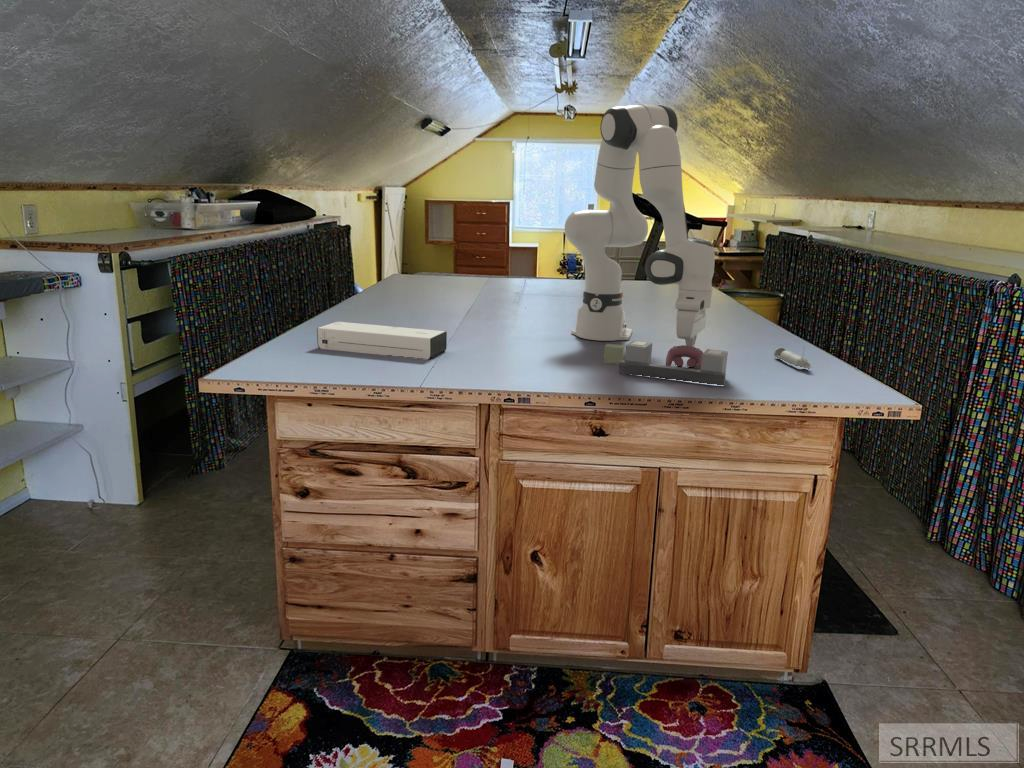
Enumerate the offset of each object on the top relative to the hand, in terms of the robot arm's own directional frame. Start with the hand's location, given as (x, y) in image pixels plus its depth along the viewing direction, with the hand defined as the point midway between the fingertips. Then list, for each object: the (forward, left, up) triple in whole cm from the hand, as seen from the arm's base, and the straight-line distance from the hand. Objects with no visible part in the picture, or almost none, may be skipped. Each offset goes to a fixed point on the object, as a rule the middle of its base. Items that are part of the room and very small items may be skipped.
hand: (689, 350), depth 200 cm
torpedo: (-11, +26, -4) cm, 28 cm away
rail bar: (+23, 0, -3) cm, 23 cm away
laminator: (+32, -79, -4) cm, 85 cm away
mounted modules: (+18, 0, -3) cm, 19 cm away
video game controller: (+8, 0, -4) cm, 8 cm away
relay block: (+11, -18, -3) cm, 21 cm away
